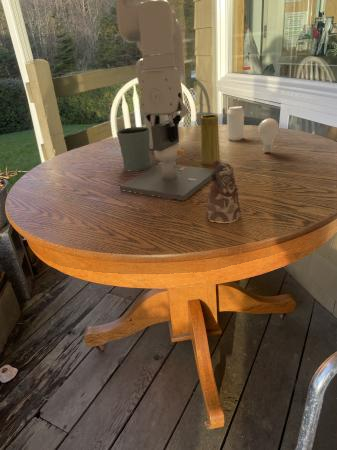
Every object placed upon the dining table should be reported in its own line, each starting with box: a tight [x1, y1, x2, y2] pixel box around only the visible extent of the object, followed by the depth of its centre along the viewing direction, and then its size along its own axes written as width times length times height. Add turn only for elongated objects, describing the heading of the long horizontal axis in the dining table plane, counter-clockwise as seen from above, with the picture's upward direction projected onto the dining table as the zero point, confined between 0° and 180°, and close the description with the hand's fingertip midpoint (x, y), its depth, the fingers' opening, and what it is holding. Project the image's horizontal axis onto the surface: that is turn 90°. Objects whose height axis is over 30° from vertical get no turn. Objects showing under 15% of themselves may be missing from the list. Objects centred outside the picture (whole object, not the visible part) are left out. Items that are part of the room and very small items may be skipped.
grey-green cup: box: [116, 126, 151, 172], centre depth 103 cm, size 10×10×12 cm
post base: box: [119, 159, 214, 202], centre depth 89 cm, size 20×20×7 cm
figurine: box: [205, 160, 241, 222], centre depth 66 cm, size 7×7×12 cm
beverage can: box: [226, 105, 245, 142], centre depth 123 cm, size 6×6×12 cm
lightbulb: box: [257, 117, 280, 154], centre depth 104 cm, size 6×6×11 cm
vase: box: [200, 114, 221, 166], centre depth 100 cm, size 6×6×14 cm
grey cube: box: [151, 120, 186, 162], centre depth 84 cm, size 9×9×9 cm
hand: (166, 140), depth 85 cm, fingers open, 3 cm apart
